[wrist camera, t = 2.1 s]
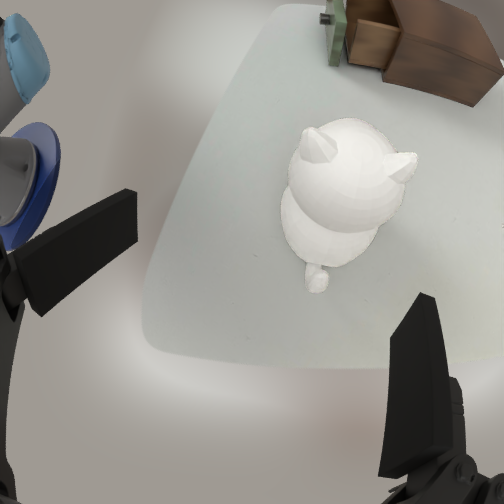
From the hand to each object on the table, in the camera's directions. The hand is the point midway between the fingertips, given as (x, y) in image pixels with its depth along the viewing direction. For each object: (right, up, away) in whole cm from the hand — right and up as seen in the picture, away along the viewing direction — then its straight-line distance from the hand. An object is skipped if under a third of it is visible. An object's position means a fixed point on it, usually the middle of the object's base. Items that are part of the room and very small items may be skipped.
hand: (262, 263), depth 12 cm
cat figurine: (+7, +3, +17) cm, 18 cm away
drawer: (+16, +28, +17) cm, 36 cm away
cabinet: (+24, +27, +17) cm, 40 cm away
